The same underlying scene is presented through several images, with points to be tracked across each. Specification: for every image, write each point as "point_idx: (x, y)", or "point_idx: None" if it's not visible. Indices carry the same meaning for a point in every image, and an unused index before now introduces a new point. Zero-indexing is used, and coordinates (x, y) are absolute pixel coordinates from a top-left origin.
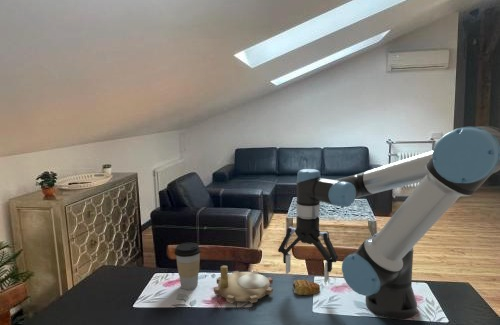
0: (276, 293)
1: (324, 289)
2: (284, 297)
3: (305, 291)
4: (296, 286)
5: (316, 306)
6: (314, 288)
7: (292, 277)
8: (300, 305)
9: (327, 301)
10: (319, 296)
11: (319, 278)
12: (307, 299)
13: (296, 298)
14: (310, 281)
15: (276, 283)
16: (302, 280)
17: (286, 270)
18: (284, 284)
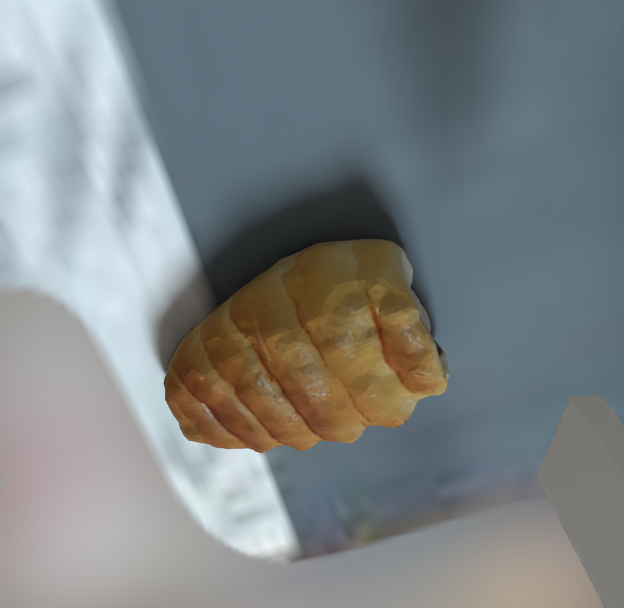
0: (592, 182)
1: (141, 417)
2: (495, 132)
3: (280, 279)
4: (396, 296)
5: (76, 72)
6: (199, 358)
7: (465, 481)
8: (270, 17)
9: (13, 231)
10: (135, 292)
11: (245, 537)
12: (233, 189)
13: (357, 163)
14: (269, 438)
15: (600, 355)
16: (354, 420)
17: (615, 432)
18: (522, 366)
